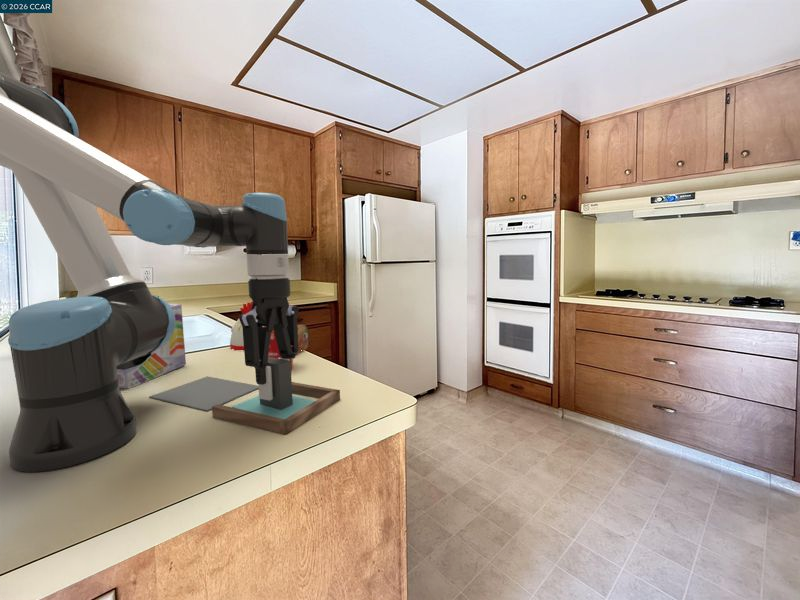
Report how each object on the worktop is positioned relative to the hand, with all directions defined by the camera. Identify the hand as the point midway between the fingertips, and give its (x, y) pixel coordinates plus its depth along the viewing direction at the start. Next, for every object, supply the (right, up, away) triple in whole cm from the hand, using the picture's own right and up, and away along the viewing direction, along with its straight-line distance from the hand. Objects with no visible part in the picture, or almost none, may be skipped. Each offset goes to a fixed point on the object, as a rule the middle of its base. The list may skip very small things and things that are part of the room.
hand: (275, 393), depth 72 cm
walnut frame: (0, -3, 0) cm, 3 cm away
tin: (-8, +2, +41) cm, 42 cm away
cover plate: (0, -3, 0) cm, 3 cm away
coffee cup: (-7, 0, +25) cm, 26 cm away
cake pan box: (-38, -1, +20) cm, 43 cm away
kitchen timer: (-25, +3, +51) cm, 57 cm away
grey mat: (-18, -2, +8) cm, 20 cm away
